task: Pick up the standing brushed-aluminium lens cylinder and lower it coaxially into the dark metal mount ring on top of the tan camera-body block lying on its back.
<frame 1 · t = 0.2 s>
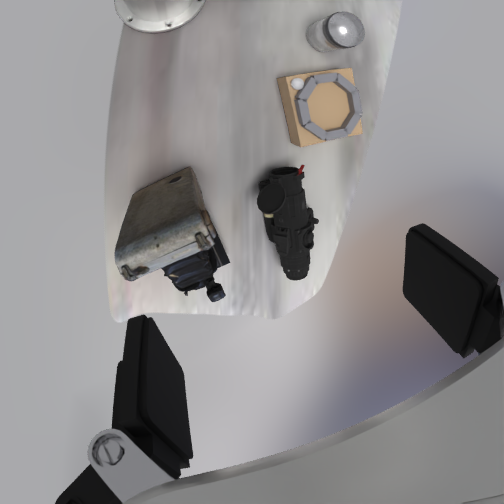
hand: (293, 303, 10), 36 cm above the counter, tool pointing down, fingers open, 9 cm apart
lens: (321, 36, 37), on the counter
mount: (315, 104, 42), on the counter
vintage camera: (184, 220, 46), on the counter
night vision scope: (282, 214, 50), on the counter
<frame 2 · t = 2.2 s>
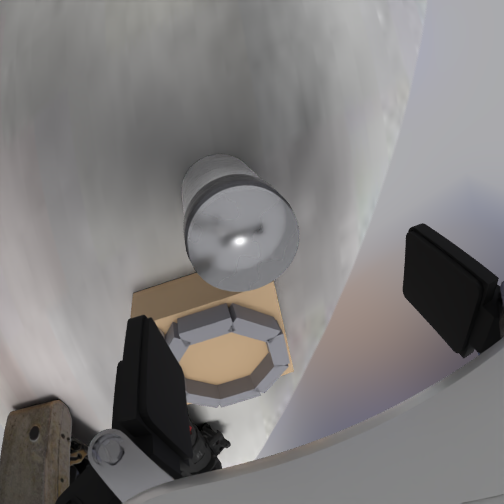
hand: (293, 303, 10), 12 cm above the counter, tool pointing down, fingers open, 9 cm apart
lens: (218, 190, 21), on the counter
mount: (213, 320, 26), on the counter
vintage camera: (72, 430, 30), on the counter
night vision scope: (186, 427, 33), on the counter
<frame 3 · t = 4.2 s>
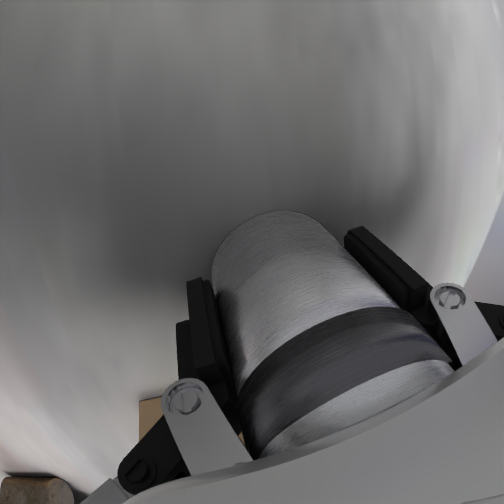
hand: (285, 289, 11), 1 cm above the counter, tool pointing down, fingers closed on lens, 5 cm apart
lens: (275, 271, 12), on the counter, touching gripper
mount: (251, 423, 17), on the counter
vintage camera: (75, 497, 22), on the counter
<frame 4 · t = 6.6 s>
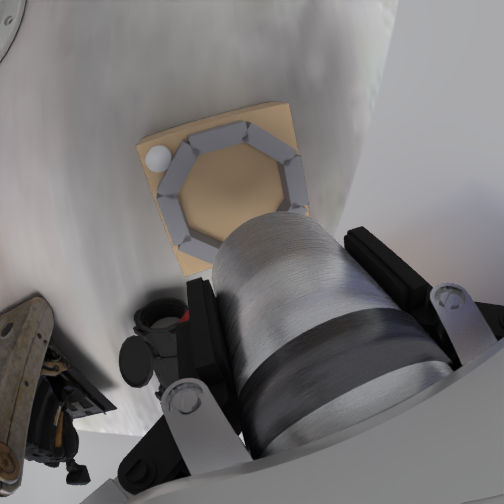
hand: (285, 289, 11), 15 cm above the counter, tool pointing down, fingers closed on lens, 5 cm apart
lens: (276, 271, 12), point 14 cm above the counter, touching gripper
mount: (223, 178, 24), on the counter
vintage camera: (55, 352, 28), on the counter
night vision scope: (181, 347, 32), on the counter
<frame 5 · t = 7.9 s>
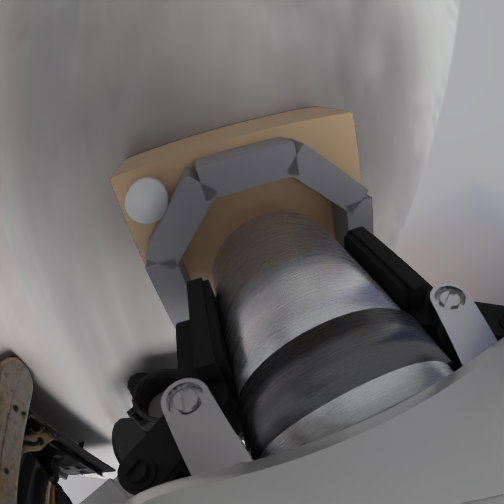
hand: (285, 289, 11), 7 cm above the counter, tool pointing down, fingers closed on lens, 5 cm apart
lens: (276, 271, 12), point 6 cm above the counter, touching gripper
mount: (244, 215, 17), on the counter
vintage camera: (40, 409, 22), on the counter
night vision scope: (186, 409, 25), on the counter
when the fingers open (7 cm above the counter, at t = 9.1 s): lens drops 1 cm, resting on mount.
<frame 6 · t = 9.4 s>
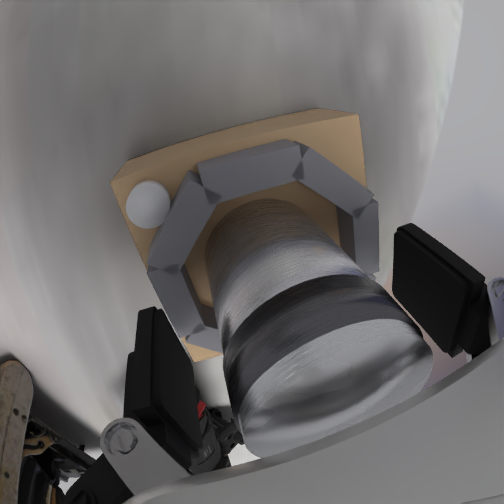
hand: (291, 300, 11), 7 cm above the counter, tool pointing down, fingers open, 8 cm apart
lens: (264, 254, 13), point 4 cm above the counter, touching mount
mount: (247, 219, 17), on the counter
vintage camera: (41, 412, 21), on the counter
night vision scope: (186, 413, 24), on the counter
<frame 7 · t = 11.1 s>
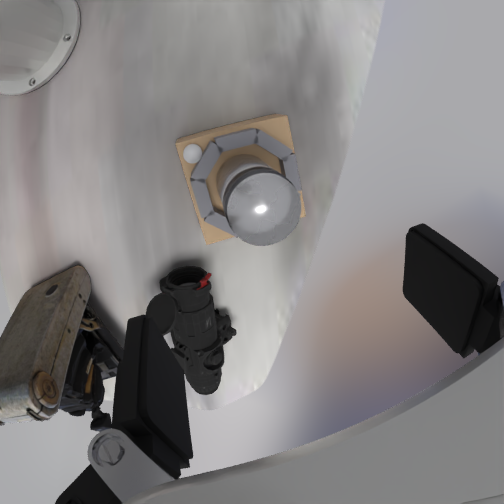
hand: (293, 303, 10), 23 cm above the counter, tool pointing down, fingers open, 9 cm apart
lens: (243, 181, 28), point 4 cm above the counter, touching mount
mount: (238, 171, 31), on the counter
vintage camera: (86, 318, 36), on the counter
night vision scope: (194, 315, 38), on the counter
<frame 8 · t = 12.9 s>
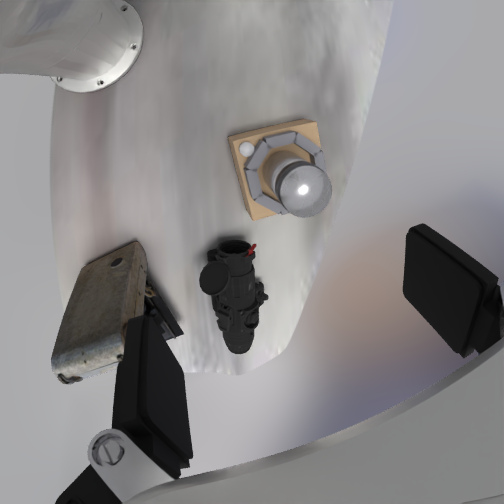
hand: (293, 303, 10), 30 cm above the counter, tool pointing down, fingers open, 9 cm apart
lens: (283, 171, 35), point 4 cm above the counter, touching mount
mount: (274, 164, 39), on the counter
vintage camera: (136, 290, 43), on the counter
night vision scope: (231, 284, 46), on the counter
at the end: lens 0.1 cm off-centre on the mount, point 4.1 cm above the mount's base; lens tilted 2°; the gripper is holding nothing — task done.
